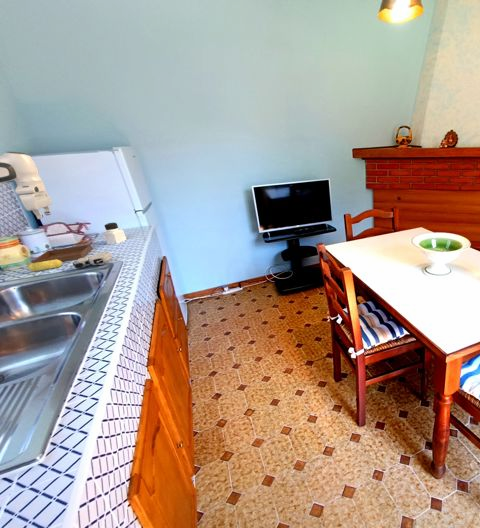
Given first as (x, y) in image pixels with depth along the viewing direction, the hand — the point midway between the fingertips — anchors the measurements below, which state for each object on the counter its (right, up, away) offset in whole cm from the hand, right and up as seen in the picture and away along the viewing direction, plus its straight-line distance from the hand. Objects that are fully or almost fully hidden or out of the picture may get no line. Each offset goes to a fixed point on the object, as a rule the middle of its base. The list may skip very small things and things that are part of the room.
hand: (44, 216), depth 147 cm
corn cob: (+4, -26, -2) cm, 26 cm away
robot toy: (+25, -24, 0) cm, 34 cm away
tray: (-3, -20, +14) cm, 24 cm away
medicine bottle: (+7, -10, +36) cm, 38 cm away
